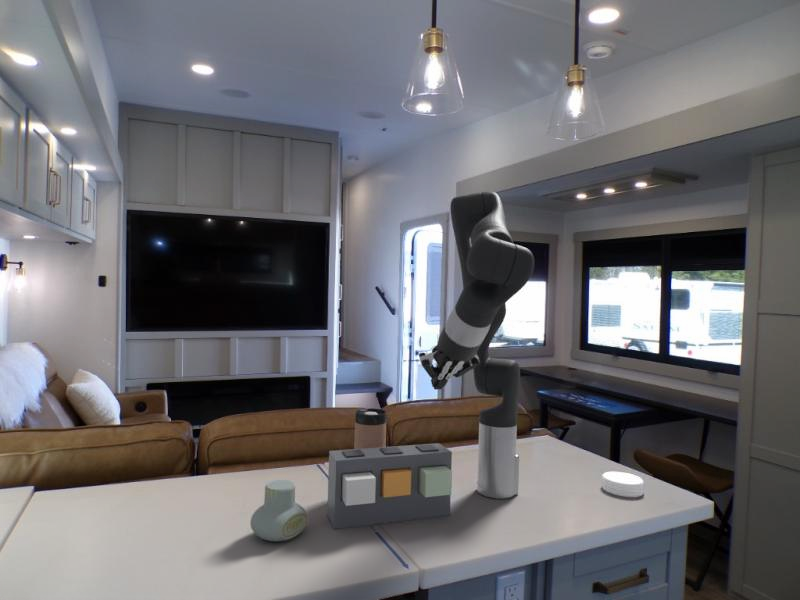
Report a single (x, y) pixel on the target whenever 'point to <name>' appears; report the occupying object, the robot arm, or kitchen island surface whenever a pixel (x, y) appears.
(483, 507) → the kitchen island surface
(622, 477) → the white round disc
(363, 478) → the block
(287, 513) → the air freshener
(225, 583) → the kitchen island surface
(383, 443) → the travel mug
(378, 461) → the grey switch box
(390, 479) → the block
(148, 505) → the kitchen island surface
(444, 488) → the block
